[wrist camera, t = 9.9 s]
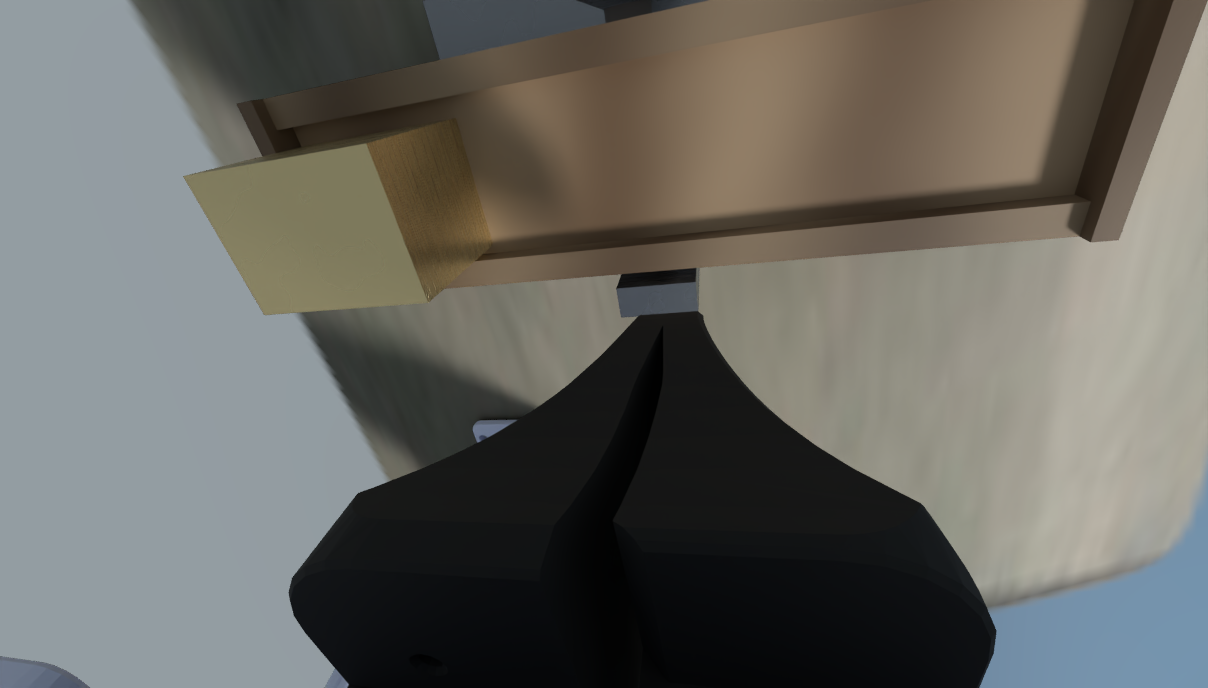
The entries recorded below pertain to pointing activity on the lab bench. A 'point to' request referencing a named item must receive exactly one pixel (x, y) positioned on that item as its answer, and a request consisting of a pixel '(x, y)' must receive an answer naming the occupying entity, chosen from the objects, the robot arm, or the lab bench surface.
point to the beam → (783, 128)
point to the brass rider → (349, 219)
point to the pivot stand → (533, 10)
